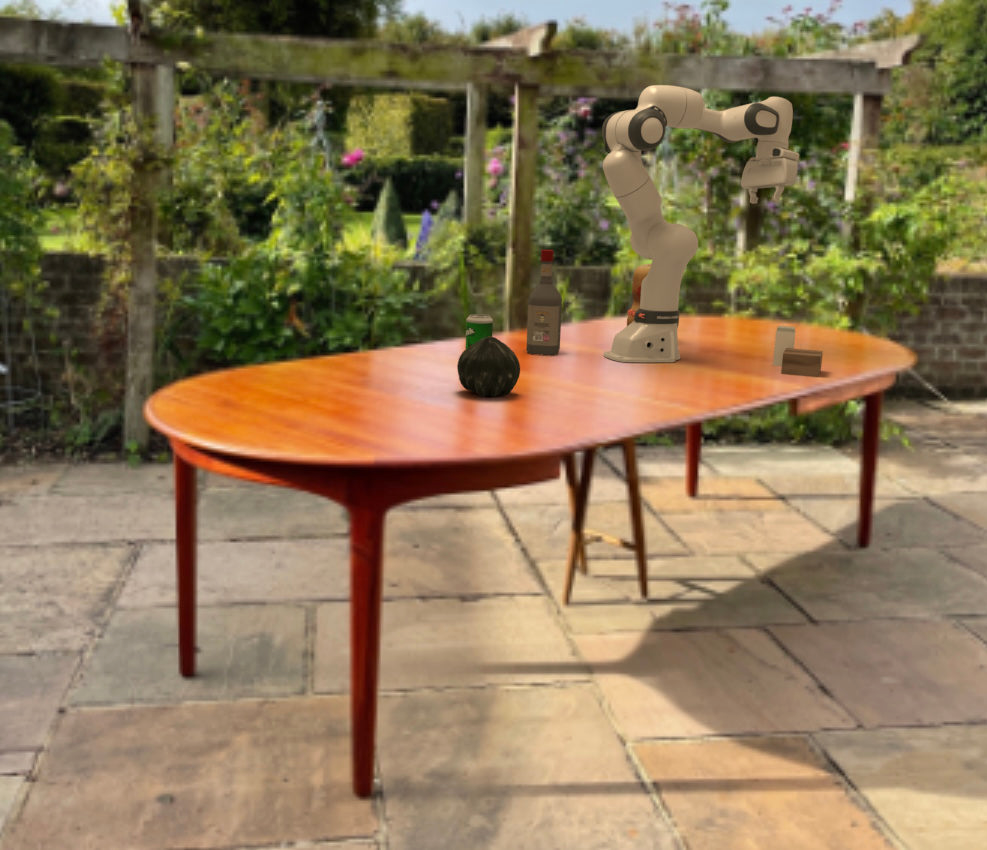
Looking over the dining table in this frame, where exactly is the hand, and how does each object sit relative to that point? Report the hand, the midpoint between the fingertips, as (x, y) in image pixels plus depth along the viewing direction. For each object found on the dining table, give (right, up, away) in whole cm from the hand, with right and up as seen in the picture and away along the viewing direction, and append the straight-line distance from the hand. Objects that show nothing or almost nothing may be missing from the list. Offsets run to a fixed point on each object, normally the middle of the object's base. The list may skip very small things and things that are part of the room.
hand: (764, 202), depth 321 cm
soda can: (-84, -46, -10) cm, 96 cm away
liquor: (-65, -44, +2) cm, 79 cm away
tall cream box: (+4, -48, -5) cm, 49 cm away
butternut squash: (-30, -39, +28) cm, 57 cm away
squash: (-81, -58, -59) cm, 116 cm away
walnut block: (+6, -51, -17) cm, 54 cm away
